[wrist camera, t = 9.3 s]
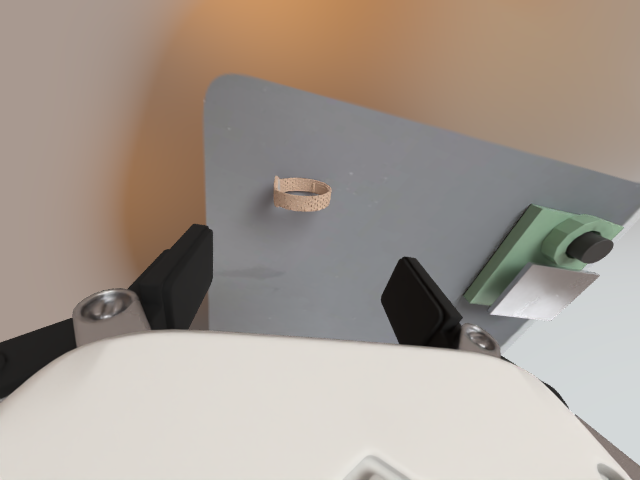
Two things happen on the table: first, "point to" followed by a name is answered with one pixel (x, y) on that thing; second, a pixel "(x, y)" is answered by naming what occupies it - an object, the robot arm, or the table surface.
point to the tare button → (589, 247)
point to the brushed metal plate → (541, 291)
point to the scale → (535, 248)
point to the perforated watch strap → (288, 199)
